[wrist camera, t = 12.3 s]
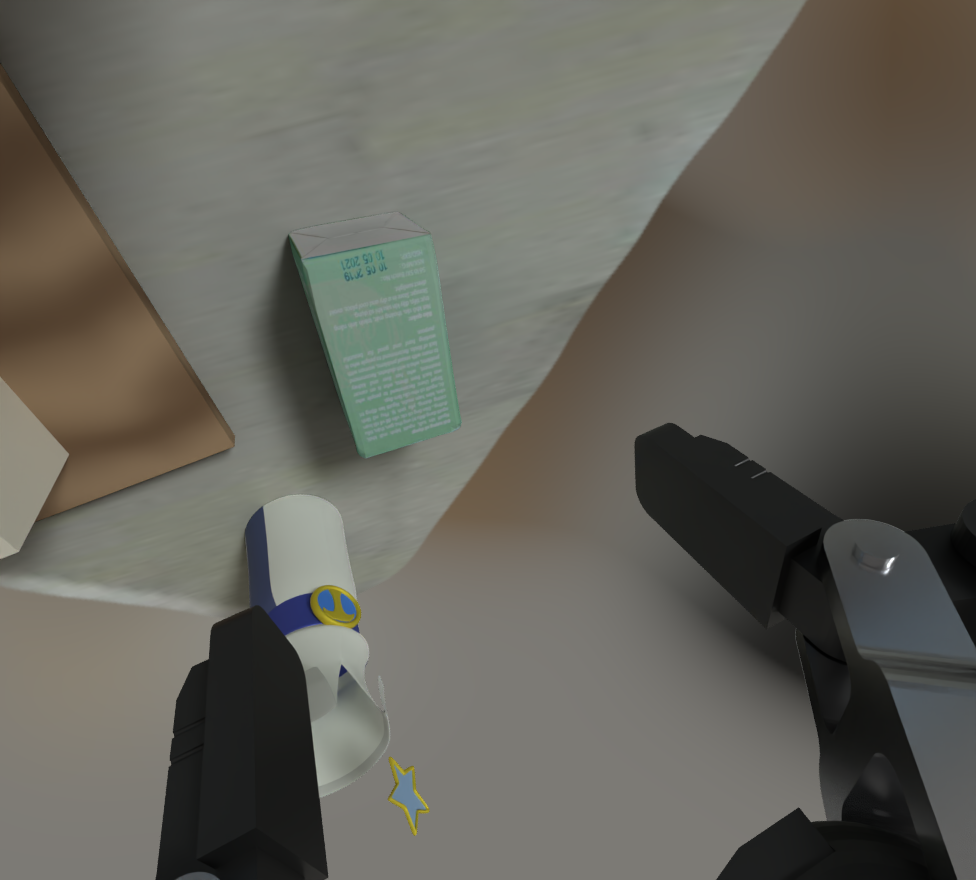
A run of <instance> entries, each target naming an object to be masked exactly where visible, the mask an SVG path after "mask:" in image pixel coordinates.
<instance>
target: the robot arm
mask: <svg viewBox="0 0 976 880" xmlns="http://www.w3.org/2000/svg"><path fill="white" fill-rule="evenodd" d="M635 479H636V492H637V496H638V498H639V501H640V503H641V505H642V506H643V508H644V509H645V511H646V512H647V513H648V514H649V516H650V517H651V518H653V519H654V520H655V521H656V522H657V523H658V524H659V525H660V526H661V527H662V528H663V529H664V530H665V531H666V532H667V533H668V534H669V535H670V536H671V537H672V538H673V539H674V540H675V541H676V542H677V543H678V544H679V545H680V546H681V547H682V548H683V549H684V550H686V552H688V553H689V554H690V555H691V556H692V557H693V558H694V559H695V560H696V561H697V562H698V563H699V564H700V565H701V566H702V567H703V568H704V569H705V570H706V571H707V572H708V573H709V574H710V575H711V576H712V577H713V578H714V579H715V580H716V581H717V582H719V583H720V585H721V586H722V587H723V588H725V589H726V590H727V591H728V592H729V593H730V594H731V595H732V596H733V597H734V598H735V599H736V600H737V601H738V602H739V603H740V604H741V605H742V606H743V607H744V608H745V609H746V610H747V611H748V612H749V613H750V614H751V615H752V616H753V617H754V618H755V619H756V620H758V622H760V623H761V624H762V625H763V626H764V627H765V628H766V629H768V628H770V627H771V626H773V625H775V624H777V623H779V622H780V621H782V620H784V619H787V620H788V621H789V622H790V623H791V624H792V625H794V626H795V627H796V633H795V636H796V642H797V647H798V651H799V655H800V660H801V664H802V669H803V673H804V677H805V682H806V686H807V690H808V695H809V699H810V703H811V707H812V712H813V716H814V721H815V725H816V729H817V734H818V739H819V747H820V748H819V749H820V759H819V777H820V787H821V794H822V799H823V804H824V809H825V813H826V818H827V821H815V822H810V820H809V819H808V818H807V817H806V816H805V815H804V813H803V812H802V811H801V809H800V808H797V809H796V810H794V811H793V812H791V813H790V814H788V815H787V816H785V817H784V818H782V819H781V820H779V821H778V822H776V823H775V824H774V825H772V826H771V827H769V828H768V829H766V830H765V831H763V832H762V833H760V834H759V835H757V836H756V837H754V838H753V839H751V840H750V841H748V842H747V843H745V844H744V845H742V846H741V847H740V848H738V850H737V851H736V853H735V854H734V855H733V857H732V858H731V860H730V861H729V862H728V864H727V865H726V867H725V868H724V870H723V871H722V872H721V874H720V875H719V877H718V878H717V880H976V500H973V501H971V502H969V503H968V504H967V505H966V506H965V507H964V509H963V511H962V513H961V515H960V516H959V518H958V521H957V522H956V523H954V524H949V525H943V526H936V527H930V528H925V529H919V530H912V531H905V532H903V531H901V530H900V529H897V528H896V527H893V526H891V525H888V524H884V523H881V522H878V521H873V520H865V519H852V520H845V521H844V520H842V519H841V518H839V517H837V516H836V515H834V514H832V513H831V512H829V511H828V510H826V509H825V508H823V507H822V506H820V505H819V504H817V503H816V502H814V501H813V500H811V499H810V498H808V497H807V496H805V495H804V494H802V493H801V492H799V491H798V490H796V489H795V488H793V487H792V486H790V485H789V484H787V483H786V482H784V481H783V480H781V479H780V478H778V477H777V476H775V475H774V474H772V473H771V472H769V473H768V472H766V469H765V468H763V467H762V466H760V465H759V464H757V463H756V462H754V461H753V460H752V461H750V460H749V459H748V457H747V456H745V455H744V454H742V453H741V452H739V451H738V450H736V449H735V448H733V447H732V446H730V445H729V444H727V443H725V442H722V441H718V440H716V439H712V438H709V437H706V436H703V435H699V436H697V437H695V438H694V437H693V436H692V435H690V434H689V433H687V432H686V431H684V430H683V429H682V428H680V427H679V426H677V425H675V424H673V423H667V424H664V425H662V426H660V427H657V428H655V429H653V430H651V431H649V432H646V433H644V434H642V435H639V436H638V437H637V438H636V440H635ZM173 733H174V738H173V739H172V744H171V752H170V761H171V766H170V767H169V770H168V779H167V787H166V796H165V805H164V814H163V822H162V831H161V840H160V849H159V858H158V866H157V875H156V880H325V879H326V878H328V870H327V861H326V852H325V843H324V835H323V825H322V817H321V808H320V799H319V790H318V781H317V772H316V763H315V755H314V746H313V737H312V728H311V719H310V710H309V702H308V693H307V684H306V677H305V672H304V669H303V665H302V663H301V660H300V658H299V655H298V653H297V652H296V650H295V648H294V647H293V646H292V644H291V643H290V642H289V641H288V639H287V638H286V637H285V636H284V634H283V633H282V632H281V630H280V629H279V628H278V627H277V625H276V624H275V623H274V622H273V620H272V619H271V618H270V617H269V615H268V614H267V613H266V612H265V610H264V609H263V608H262V607H261V606H259V605H255V606H253V607H251V608H249V609H246V610H244V611H242V612H240V613H237V614H235V615H233V616H231V617H228V618H226V619H224V620H222V621H219V622H217V623H215V624H214V625H213V627H212V629H211V635H210V651H209V659H208V660H206V661H204V662H202V663H199V664H197V665H195V666H193V667H192V668H191V670H190V672H189V674H188V677H187V679H186V681H185V683H184V685H183V687H182V689H181V691H180V694H179V696H178V698H177V700H176V709H175V718H174V727H173Z"/></svg>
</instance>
